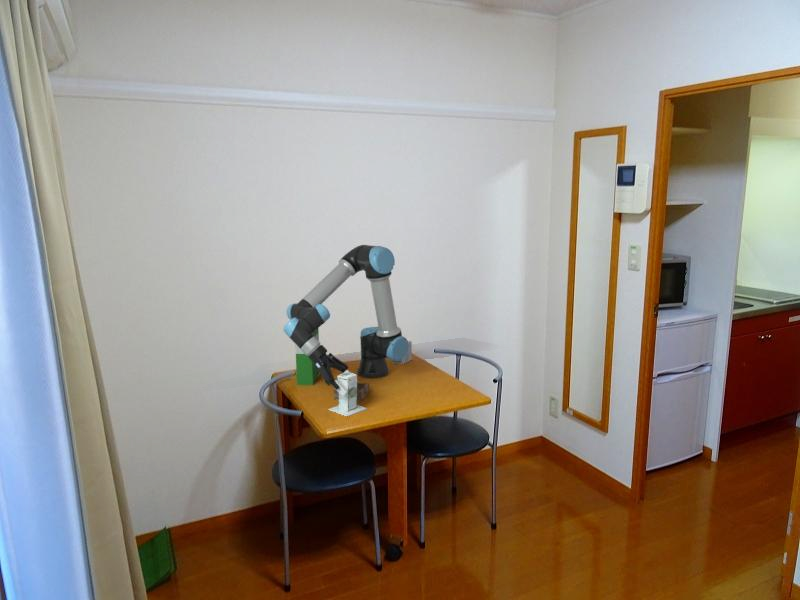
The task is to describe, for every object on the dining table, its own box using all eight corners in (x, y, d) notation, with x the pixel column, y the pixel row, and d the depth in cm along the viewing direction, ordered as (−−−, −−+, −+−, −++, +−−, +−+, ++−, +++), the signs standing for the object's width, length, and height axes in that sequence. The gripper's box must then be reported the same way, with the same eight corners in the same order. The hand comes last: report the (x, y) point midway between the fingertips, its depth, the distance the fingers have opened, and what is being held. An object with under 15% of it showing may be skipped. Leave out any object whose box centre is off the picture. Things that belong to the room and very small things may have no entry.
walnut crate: (343, 390, 257) (343, 381, 256) (369, 392, 254) (368, 383, 253) (334, 399, 245) (334, 390, 244) (360, 401, 242) (360, 392, 242)
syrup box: (347, 404, 238) (346, 371, 235) (357, 407, 234) (357, 373, 231) (337, 408, 233) (336, 374, 231) (348, 412, 230) (347, 377, 227)
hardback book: (305, 373, 282) (303, 325, 277) (320, 373, 281) (318, 325, 277) (297, 385, 264) (294, 334, 260) (312, 385, 264) (311, 334, 259)
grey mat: (349, 402, 241) (349, 401, 241) (366, 409, 234) (366, 408, 234) (328, 409, 233) (328, 408, 233) (346, 416, 226) (346, 415, 226)
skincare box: (401, 358, 305) (401, 339, 304) (412, 360, 302) (412, 341, 300) (391, 363, 297) (390, 344, 295) (401, 365, 293) (401, 345, 291)
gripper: (319, 348, 245) (353, 384, 244) (296, 365, 221) (333, 404, 221) (331, 337, 243) (365, 373, 242) (308, 352, 219) (346, 392, 218)
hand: (350, 388), depth 231 cm, fingers open, 13 cm apart
